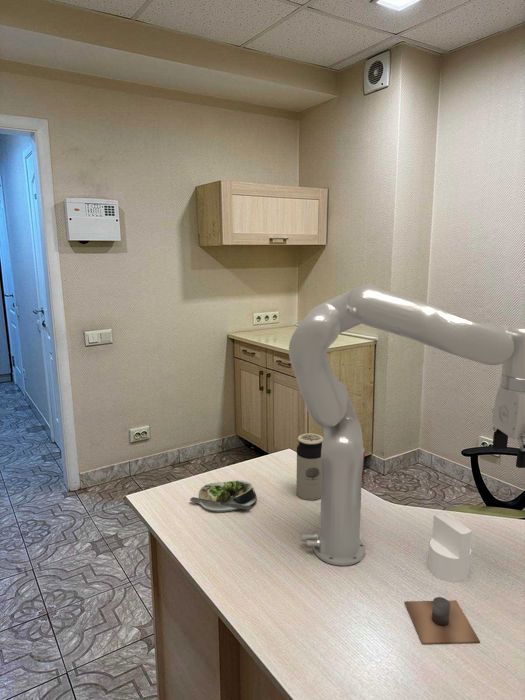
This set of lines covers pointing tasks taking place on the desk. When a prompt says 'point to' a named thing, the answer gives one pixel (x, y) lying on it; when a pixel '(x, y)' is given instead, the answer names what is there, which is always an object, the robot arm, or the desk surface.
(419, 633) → the lid
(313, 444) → the travel mug
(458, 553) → the white cylindrical piece
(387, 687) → the desk surface
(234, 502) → the salad plate
